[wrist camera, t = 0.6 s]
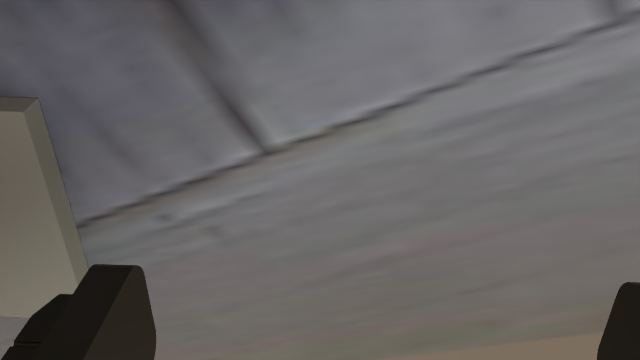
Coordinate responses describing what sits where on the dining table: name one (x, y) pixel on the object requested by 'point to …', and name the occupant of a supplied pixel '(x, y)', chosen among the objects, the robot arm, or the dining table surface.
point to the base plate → (33, 215)
